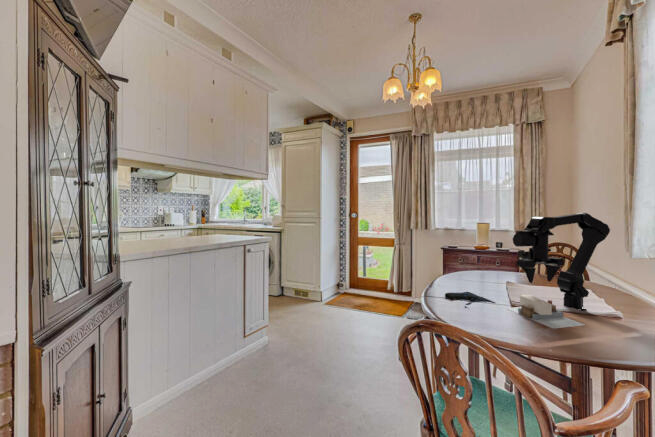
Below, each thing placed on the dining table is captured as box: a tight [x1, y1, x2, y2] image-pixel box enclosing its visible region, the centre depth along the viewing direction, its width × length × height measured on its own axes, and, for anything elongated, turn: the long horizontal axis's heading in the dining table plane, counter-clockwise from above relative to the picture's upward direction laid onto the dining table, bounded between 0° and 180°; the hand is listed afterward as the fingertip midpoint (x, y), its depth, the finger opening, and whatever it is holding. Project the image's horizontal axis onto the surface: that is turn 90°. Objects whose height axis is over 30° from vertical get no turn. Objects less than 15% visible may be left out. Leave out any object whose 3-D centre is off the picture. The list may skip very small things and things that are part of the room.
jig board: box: [505, 306, 585, 330], centre depth 118 cm, size 14×22×3 cm, turn 10°
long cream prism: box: [519, 294, 553, 315], centre depth 118 cm, size 4×12×4 cm, turn 1°
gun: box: [444, 291, 496, 309], centre depth 139 cm, size 24×3×15 cm
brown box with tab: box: [520, 299, 557, 319], centre depth 119 cm, size 12×4×6 cm, turn 100°
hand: (539, 282), depth 128 cm, fingers open, 9 cm apart
